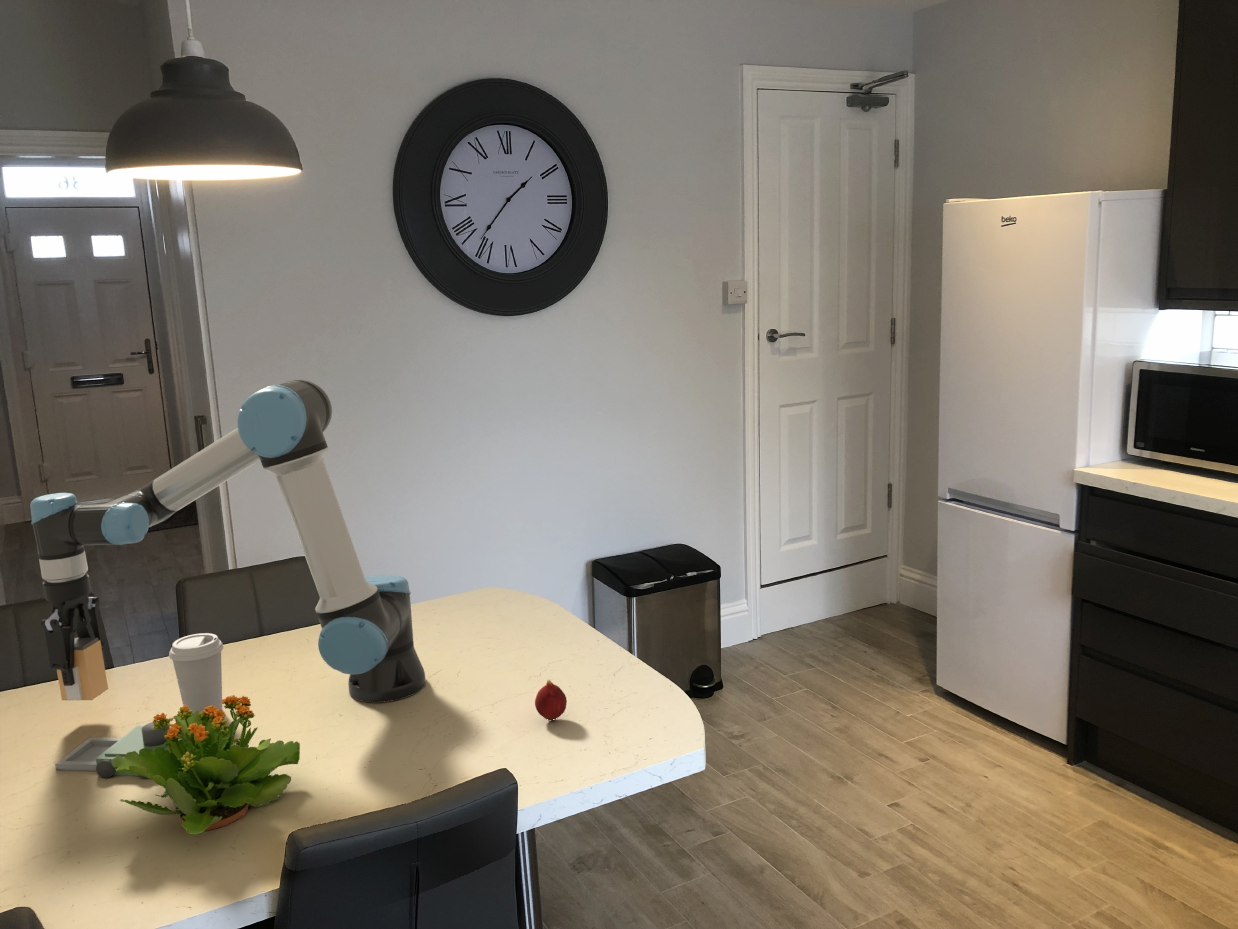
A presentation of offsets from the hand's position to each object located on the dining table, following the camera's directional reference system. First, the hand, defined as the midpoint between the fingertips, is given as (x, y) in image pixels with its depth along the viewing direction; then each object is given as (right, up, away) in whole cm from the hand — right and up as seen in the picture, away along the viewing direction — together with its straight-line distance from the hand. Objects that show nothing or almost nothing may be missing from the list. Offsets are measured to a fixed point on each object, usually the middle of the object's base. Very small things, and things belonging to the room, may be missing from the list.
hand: (85, 692), depth 181 cm
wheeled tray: (+15, -8, -14) cm, 22 cm away
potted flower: (+39, -11, -34) cm, 52 cm away
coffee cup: (+22, -5, +2) cm, 23 cm away
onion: (+90, -4, -5) cm, 90 cm away
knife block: (0, 0, 0) cm, 0 cm away
